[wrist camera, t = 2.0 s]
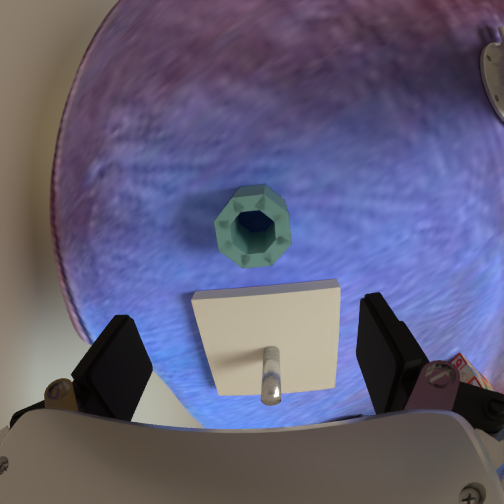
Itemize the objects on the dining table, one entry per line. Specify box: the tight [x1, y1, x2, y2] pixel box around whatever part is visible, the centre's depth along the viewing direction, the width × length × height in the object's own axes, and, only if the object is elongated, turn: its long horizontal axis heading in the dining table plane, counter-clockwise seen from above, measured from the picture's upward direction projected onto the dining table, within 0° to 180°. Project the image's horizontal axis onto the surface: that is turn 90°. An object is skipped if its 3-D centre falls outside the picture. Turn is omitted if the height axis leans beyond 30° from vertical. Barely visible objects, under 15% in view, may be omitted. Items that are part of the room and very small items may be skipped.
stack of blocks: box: [450, 353, 496, 392], centre depth 31 cm, size 21×6×12 cm, turn 55°
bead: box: [214, 184, 292, 268], centre depth 26 cm, size 6×6×6 cm
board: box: [191, 279, 340, 406], centre depth 30 cm, size 16×16×10 cm
